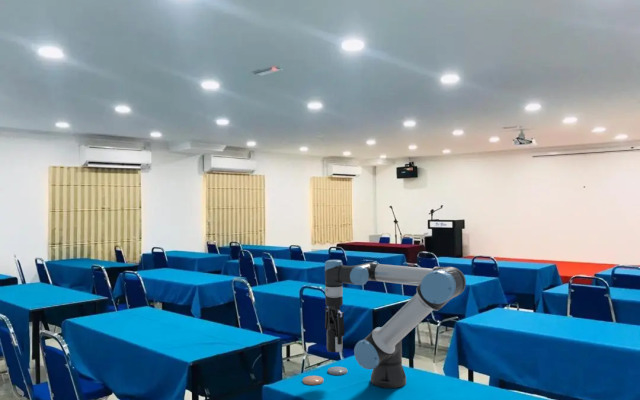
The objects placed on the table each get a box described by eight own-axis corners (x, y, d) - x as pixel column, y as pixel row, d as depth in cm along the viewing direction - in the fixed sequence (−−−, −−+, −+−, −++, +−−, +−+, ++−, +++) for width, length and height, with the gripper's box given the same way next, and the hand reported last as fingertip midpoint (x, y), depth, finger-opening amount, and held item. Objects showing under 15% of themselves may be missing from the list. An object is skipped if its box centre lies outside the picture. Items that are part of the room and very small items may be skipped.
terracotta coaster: (326, 383, 210) (326, 381, 210) (307, 386, 206) (307, 384, 206) (318, 376, 218) (318, 374, 218) (299, 379, 214) (299, 377, 214)
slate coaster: (350, 373, 222) (350, 371, 222) (333, 376, 218) (333, 374, 218) (341, 367, 230) (341, 365, 230) (324, 370, 226) (324, 368, 226)
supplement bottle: (341, 353, 207) (340, 324, 207) (325, 352, 208) (325, 324, 208) (343, 348, 214) (343, 320, 214) (328, 347, 215) (328, 320, 215)
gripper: (316, 293, 219) (317, 344, 218) (336, 300, 201) (337, 356, 200) (331, 291, 222) (332, 342, 222) (352, 298, 204) (353, 354, 204)
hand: (334, 349), depth 211 cm, fingers closed on supplement bottle, 7 cm apart
